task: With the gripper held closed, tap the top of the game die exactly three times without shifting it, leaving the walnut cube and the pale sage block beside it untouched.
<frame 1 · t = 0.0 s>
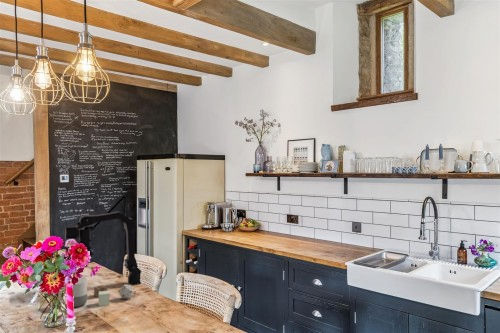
hand: (84, 265, 219), 15 cm above the table, fingers open, 9 cm apart
game die: (126, 299, 207), on the table
sage block: (103, 304, 199), on the table
smart speaker: (77, 305, 196), on the table
walnut cube: (100, 296, 211), on the table
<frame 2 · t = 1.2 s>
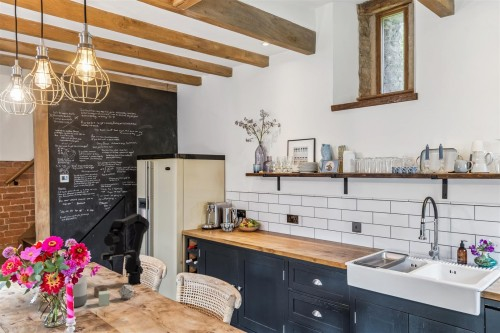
hand: (118, 270, 217), 12 cm above the table, fingers open, 7 cm apart
nothing on the table moved.
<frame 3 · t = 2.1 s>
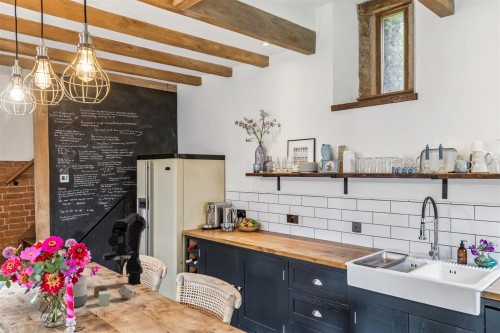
hand: (120, 271, 214), 13 cm above the table, fingers closed
nothing on the table moved.
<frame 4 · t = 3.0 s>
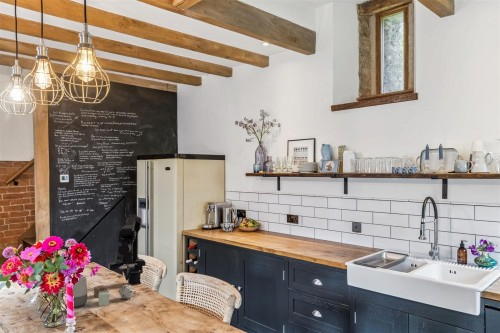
hand: (126, 280, 207), 10 cm above the table, fingers closed
nothing on the table moved.
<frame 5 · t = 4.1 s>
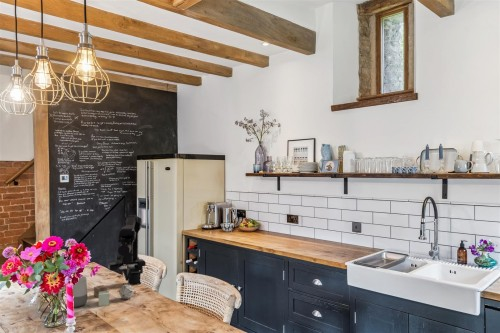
hand: (126, 280, 207), 10 cm above the table, fingers closed
nothing on the table moved.
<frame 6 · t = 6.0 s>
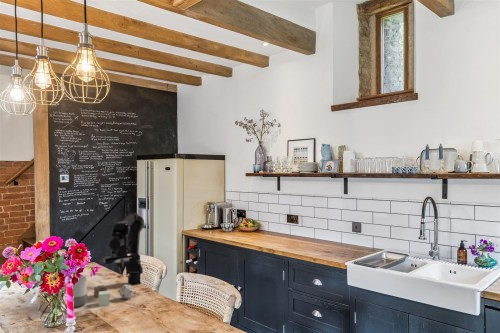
hand: (121, 273, 212), 12 cm above the table, fingers closed
nothing on the table moved.
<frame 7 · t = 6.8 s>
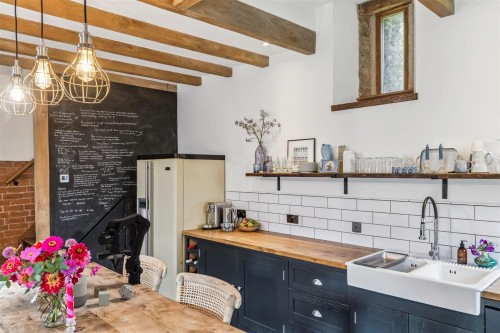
hand: (114, 269, 218), 13 cm above the table, fingers closed
nothing on the table moved.
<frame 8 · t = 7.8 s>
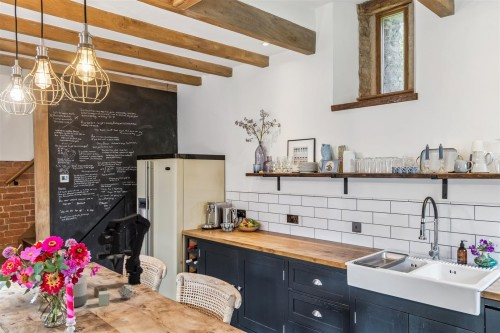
hand: (114, 269, 218), 13 cm above the table, fingers closed
nothing on the table moved.
at the end: game die moved 0.2 cm from its start; game die tilted 0°; walnut cube moved 0.1 cm from its start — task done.
